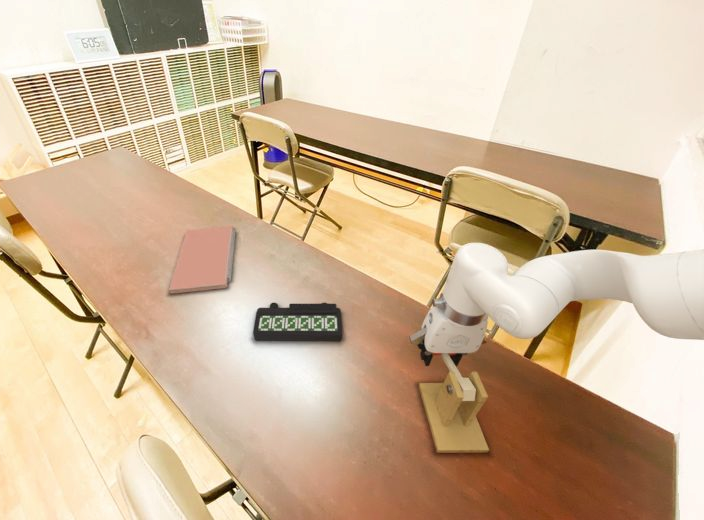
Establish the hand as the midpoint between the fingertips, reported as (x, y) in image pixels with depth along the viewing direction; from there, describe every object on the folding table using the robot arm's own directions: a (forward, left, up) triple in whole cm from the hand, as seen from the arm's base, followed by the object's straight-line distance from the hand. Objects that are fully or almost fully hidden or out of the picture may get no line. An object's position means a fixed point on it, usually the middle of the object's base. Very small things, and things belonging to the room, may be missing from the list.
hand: (439, 359), depth 68 cm
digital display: (+6, +32, -5) cm, 33 cm away
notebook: (+24, +66, -5) cm, 70 cm away
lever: (-5, -1, +4) cm, 7 cm away
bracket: (-9, -2, -4) cm, 10 cm away
